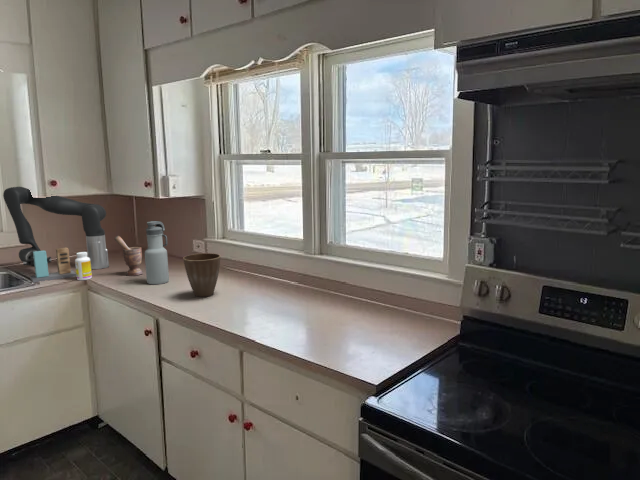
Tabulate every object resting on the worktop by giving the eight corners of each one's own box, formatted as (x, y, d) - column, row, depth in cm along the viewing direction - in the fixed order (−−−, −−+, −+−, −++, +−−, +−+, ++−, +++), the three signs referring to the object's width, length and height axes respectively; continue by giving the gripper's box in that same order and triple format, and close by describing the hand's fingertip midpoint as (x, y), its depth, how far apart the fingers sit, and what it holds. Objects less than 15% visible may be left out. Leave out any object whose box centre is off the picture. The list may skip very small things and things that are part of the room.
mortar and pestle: (125, 278, 244) (122, 237, 241) (115, 276, 249) (112, 235, 246) (147, 273, 253) (143, 233, 250) (137, 271, 258) (133, 232, 255)
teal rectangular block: (47, 274, 249) (44, 250, 247) (48, 276, 245) (46, 251, 243) (35, 276, 246) (32, 251, 244) (37, 277, 242) (34, 252, 241)
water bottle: (156, 279, 241) (152, 220, 237) (174, 280, 238) (169, 220, 233) (142, 284, 232) (137, 222, 227) (160, 285, 228) (155, 223, 224)
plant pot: (229, 294, 211) (227, 256, 208) (197, 301, 201) (194, 261, 198) (210, 288, 221) (208, 251, 219) (178, 295, 211) (176, 257, 209)
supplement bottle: (94, 277, 248) (92, 251, 246) (87, 280, 241) (84, 253, 239) (81, 277, 248) (79, 251, 246) (73, 280, 242) (71, 254, 240)
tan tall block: (69, 271, 255) (66, 247, 253) (71, 272, 252) (68, 248, 250) (58, 272, 252) (55, 248, 250) (59, 274, 249) (57, 249, 247)
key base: (72, 272, 259) (72, 270, 259) (77, 276, 251) (76, 273, 251) (30, 278, 248) (29, 275, 248) (33, 282, 240) (32, 279, 240)
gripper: (19, 252, 255) (23, 257, 242) (48, 249, 263) (54, 254, 249) (20, 267, 257) (25, 273, 243) (50, 263, 264) (56, 269, 251)
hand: (40, 263), depth 246 cm, fingers closed
